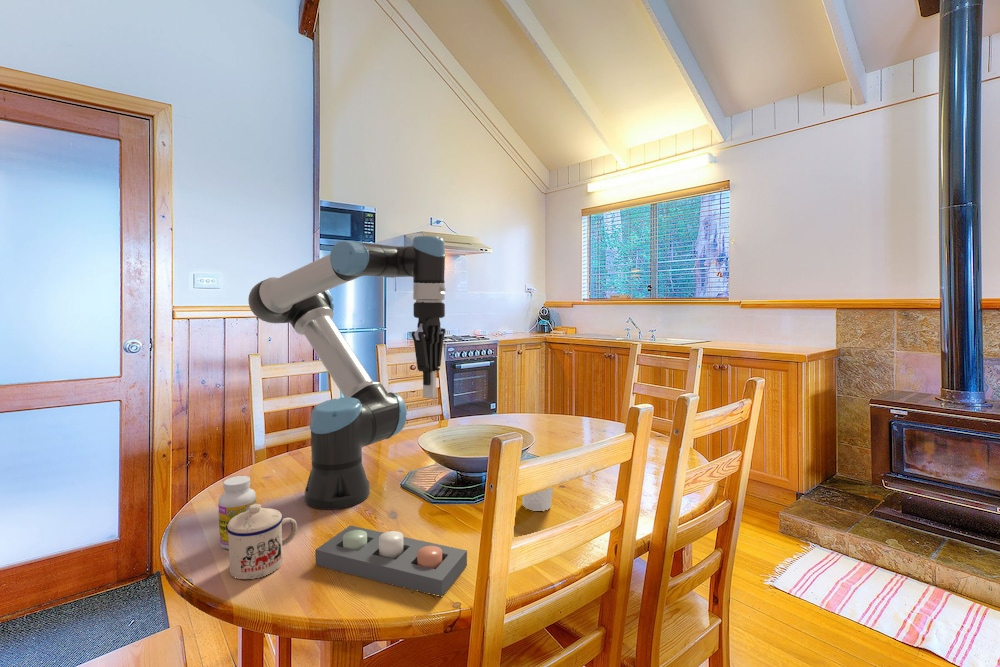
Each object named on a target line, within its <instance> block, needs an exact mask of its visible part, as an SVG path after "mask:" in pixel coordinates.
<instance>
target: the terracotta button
mask: <svg viewBox="0 0 1000 667" xmlns="http://www.w3.org/2000/svg"><path fill="white" fill-rule="evenodd" d="M441 563H442V549H441V548H439V547H437V546H425V547H422V548H421V549H419V550H418V552H417V565H420V566H424V567H428V568H432V569H436V568H437V567H438V566H439V565H440V564H441Z"/></svg>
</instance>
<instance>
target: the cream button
mask: <svg viewBox="0 0 1000 667" xmlns="http://www.w3.org/2000/svg"><path fill="white" fill-rule="evenodd" d="M403 537H404V534H403V533H402V532H400V531H398V530H397V531H395V530H391V531H385V532H384V533H383V534H381V535H380V536H379V556H381V557H386V558H390V559H394V560H396V559H397V558H398V557H399V556H400V555H401V554H402V553H403V552H404V551H403Z"/></svg>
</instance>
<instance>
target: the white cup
mask: <svg viewBox="0 0 1000 667" xmlns="http://www.w3.org/2000/svg"><path fill="white" fill-rule="evenodd" d="M553 489H554V487H553V488H548V489H546V490H543V491H540V492H536V493H532V494H529V495H525V496H521V497H522V498H521V499H522V507H523V506H524V507H526V508H528V509H530V510H533V511H543V510H547V511H548V509H549V508H550V507H551V508H552V497H553V492H554V491H553ZM524 507H523V508H524ZM551 508H550V509H551ZM550 509H549V510H550ZM533 511H532V512H533ZM543 512H544V511H543Z"/></svg>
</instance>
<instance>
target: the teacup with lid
mask: <svg viewBox="0 0 1000 667" xmlns="http://www.w3.org/2000/svg"><path fill="white" fill-rule="evenodd" d="M288 523H291V531H290V533H289V535H288V536H287V537H286V538H285V539H283V527H282V525H285V524H288ZM297 531H298V524H297V521H296V520H295V519H294V518H292V517H284V518H283V514H282V512H280V510H277V509H274V508H269V507H268V508H265V507H262V505H261V504H260V503H256V504H253V505H251V506H250V507H249V510H247V511H245V512H243V513H240V514H238V515H236V516H235V517H233V518H232V519H231V520H230V521H229V523H228V525H227V532H228V537H229V549H228V558H229V559H228V560H229V573H231V574H230V576H232V577H233V576H234V577H236V578H239V579H238V580H240V579H252V580H256V579H255V578H257V579H260V577H261V578H264V577H267V576H269V575H270V573H271V574H273V573H274V572H276V571H277V570H278V569H279V568H280V567H281V565H282V564H283V559H284V558H283V547H284V546H286V545H287V544H289V543H290V542H292V540H293V539H294V538H295V536H296V534H297ZM276 569H277V570H276ZM273 571H274V572H273ZM268 574H269V575H268ZM266 575H267V576H266ZM263 576H264V577H263ZM234 577H233V578H234ZM236 578H235V579H236Z"/></svg>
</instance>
